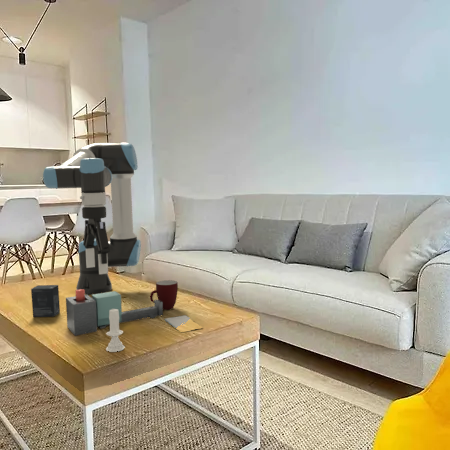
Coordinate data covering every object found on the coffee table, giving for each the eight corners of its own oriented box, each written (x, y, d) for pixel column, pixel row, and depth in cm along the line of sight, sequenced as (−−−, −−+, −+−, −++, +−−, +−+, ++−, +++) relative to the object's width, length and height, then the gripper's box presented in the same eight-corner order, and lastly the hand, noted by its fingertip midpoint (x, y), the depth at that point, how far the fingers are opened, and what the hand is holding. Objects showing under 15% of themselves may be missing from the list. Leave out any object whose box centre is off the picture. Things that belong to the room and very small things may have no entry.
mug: (155, 314, 159) (154, 287, 158) (147, 308, 166) (146, 282, 165) (181, 309, 164) (181, 283, 163) (173, 304, 171) (172, 279, 170)
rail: (90, 324, 148) (89, 310, 148) (157, 312, 161) (156, 298, 161) (95, 329, 143) (94, 314, 143) (164, 316, 156) (163, 302, 156)
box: (60, 312, 163) (58, 284, 162) (54, 317, 157) (52, 288, 156) (39, 312, 163) (37, 284, 162) (32, 317, 158) (30, 288, 157)
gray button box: (67, 327, 146) (65, 297, 145) (88, 323, 150) (87, 294, 149) (74, 335, 138) (73, 304, 137) (97, 331, 141) (95, 301, 140)
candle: (102, 351, 124) (100, 310, 123) (110, 344, 129) (108, 305, 128) (120, 352, 123) (118, 311, 122) (127, 345, 128) (126, 305, 127)
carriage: (93, 321, 149) (91, 294, 148) (116, 317, 153) (115, 291, 152) (98, 326, 144) (97, 298, 143) (122, 322, 148) (120, 294, 147)
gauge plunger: (75, 300, 143) (74, 290, 143) (83, 299, 145) (83, 288, 144) (77, 302, 141) (76, 291, 140) (86, 301, 142) (85, 290, 142)
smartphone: (180, 332, 138) (163, 318, 151) (180, 334, 138) (163, 321, 151) (204, 327, 142) (185, 314, 155) (204, 330, 142) (185, 317, 155)
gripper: (71, 205, 151) (75, 266, 153) (94, 208, 130) (97, 278, 132) (93, 204, 155) (96, 263, 157) (118, 207, 134) (121, 275, 136)
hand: (96, 270), depth 145 cm, fingers open, 13 cm apart
